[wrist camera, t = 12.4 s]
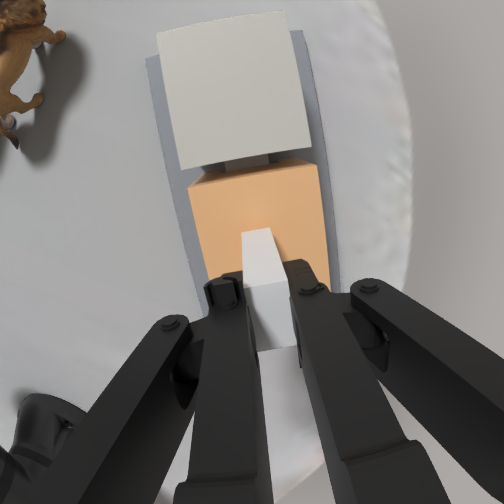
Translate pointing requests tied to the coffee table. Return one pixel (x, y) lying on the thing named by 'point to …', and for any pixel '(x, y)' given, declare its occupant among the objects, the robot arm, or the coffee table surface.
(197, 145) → the rail board
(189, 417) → the robot arm
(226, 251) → the block
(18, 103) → the lion figurine
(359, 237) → the coffee table surface
